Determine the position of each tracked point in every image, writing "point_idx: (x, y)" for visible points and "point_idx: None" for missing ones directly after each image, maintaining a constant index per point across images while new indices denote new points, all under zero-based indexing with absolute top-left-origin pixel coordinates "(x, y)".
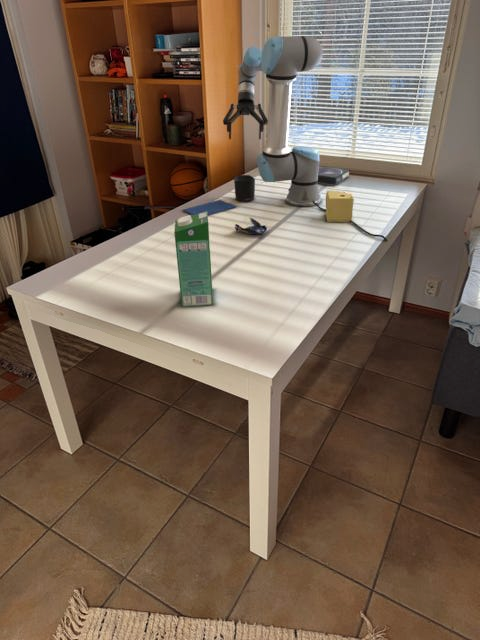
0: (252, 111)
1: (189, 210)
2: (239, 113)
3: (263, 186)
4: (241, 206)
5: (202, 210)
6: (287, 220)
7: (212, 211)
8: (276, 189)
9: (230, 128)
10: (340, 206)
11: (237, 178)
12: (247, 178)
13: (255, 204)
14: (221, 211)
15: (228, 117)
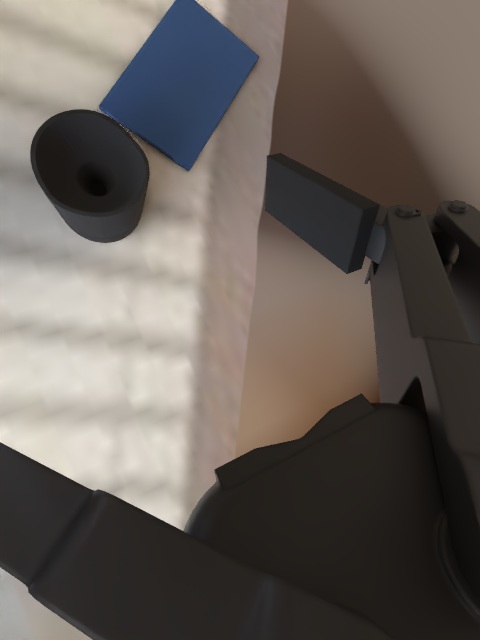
0: (99, 515)
1: (237, 49)
2: (400, 393)
3: (91, 402)
4: None
5: (197, 51)
6: None
7: (160, 42)
8: (10, 381)
9: (317, 180)
10: None
11: (139, 183)
12: (95, 211)
13: None
14: (134, 60)
15: (468, 276)
